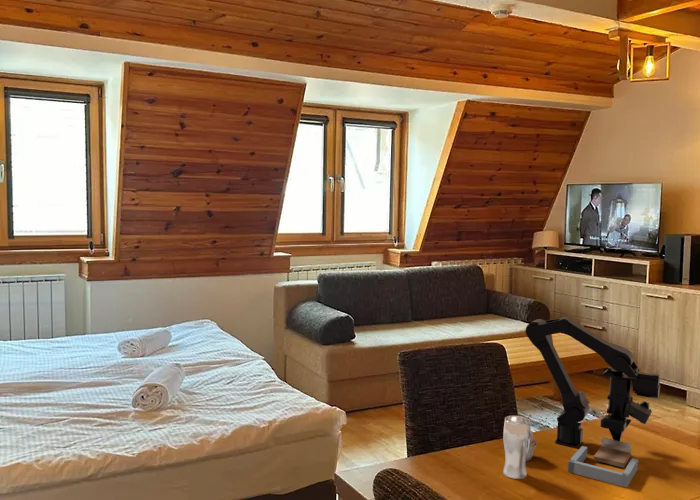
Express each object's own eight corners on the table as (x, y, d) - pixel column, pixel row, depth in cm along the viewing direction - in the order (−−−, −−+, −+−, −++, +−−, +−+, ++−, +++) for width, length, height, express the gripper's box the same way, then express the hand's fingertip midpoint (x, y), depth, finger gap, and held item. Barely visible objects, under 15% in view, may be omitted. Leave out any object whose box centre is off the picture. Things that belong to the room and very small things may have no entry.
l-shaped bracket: (593, 461, 177) (594, 447, 177) (601, 450, 185) (602, 437, 185) (623, 469, 173) (624, 455, 172) (630, 457, 181) (631, 443, 180)
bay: (567, 471, 170) (568, 461, 170) (581, 455, 181) (582, 445, 181) (627, 487, 161) (627, 476, 161) (637, 469, 172) (638, 459, 172)
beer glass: (513, 482, 163) (516, 426, 162) (496, 471, 169) (498, 417, 168) (533, 477, 166) (536, 422, 165) (515, 466, 172) (518, 413, 171)
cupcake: (521, 448, 185) (523, 415, 184) (543, 460, 177) (545, 426, 176) (496, 453, 181) (497, 419, 180) (517, 466, 173) (519, 430, 172)
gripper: (644, 406, 170) (641, 462, 171) (655, 389, 185) (652, 440, 187) (601, 398, 176) (598, 452, 178) (615, 382, 192) (612, 432, 193)
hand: (617, 444), depth 184 cm, fingers closed
